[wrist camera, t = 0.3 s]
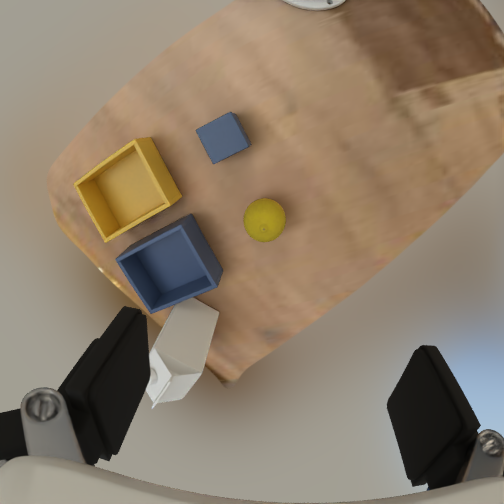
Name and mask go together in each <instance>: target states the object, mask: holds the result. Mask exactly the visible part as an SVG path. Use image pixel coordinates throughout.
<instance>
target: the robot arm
mask: <svg viewBox="0 0 504 504" xmlns="http://www.w3.org/2000/svg"><path fill="white" fill-rule="evenodd" d="M283 1H284V2H286V3H288V4H290V5H292V6H295V7H298V8H301V9H306V10H317V11H318V10H327V9H331V8H334V7H337V6H339V5H341V4H342V3H343V2H345V1H346V0H283ZM328 3H330V5H329V4H328ZM148 349H149V348H148V334H147V319H146V315H143V314H142V312H141V310H140V309H136V308H131V307H126V306H124V307H123V308H122V309H121V311H120V312H119V313H118V314H117V316H116V317H115V318H114V320H113V321H112V322H111V324H110V325H109V326H108V328H107V329H106V331H105V332H104V333H103V335H102V336H101V337H100V338H97V339H95V340H94V341H93V342H92V343H91V344H90V346H89V347H88V348H87V350H86V351H85V352H84V354H83V355H82V356H81V358H80V359H79V361H78V362H77V363H76V365H75V366H74V367H73V369H72V370H71V372H70V373H69V374H68V376H67V377H66V379H65V380H64V382H63V383H62V384H61V386H60V387H59V389H58V390H57V391H56V390H54V389H51V388H37V389H34V390H32V391H30V392H29V393H27V394H26V395H25V396H24V398H23V400H22V402H21V408H20V409H16V410H11V411H7V412H2V413H0V504H504V438H503V437H502V436H501V435H500V434H499V433H498V432H496V431H494V430H491V429H486V430H483V431H481V432H480V433H479V434H478V432H477V429H479V427H480V426H481V425H480V423H479V421H478V419H477V417H476V415H475V413H474V411H473V410H472V408H471V406H470V404H469V402H468V400H467V398H466V397H465V395H464V393H463V391H462V389H461V388H460V386H459V384H458V382H457V380H456V379H455V377H454V375H453V373H452V372H451V370H450V368H449V367H448V365H447V363H446V362H445V360H444V358H443V357H442V355H441V353H440V352H439V350H438V348H437V347H436V346H427V345H422V346H420V347H419V348H418V349H416V350H415V351H414V353H413V355H412V357H411V359H410V361H409V363H408V365H407V367H406V369H405V371H404V372H403V374H402V376H401V378H400V380H399V382H398V383H397V385H396V387H395V389H394V391H393V392H392V394H391V396H390V397H389V399H388V402H387V409H388V413H389V416H390V419H391V422H392V426H393V429H394V432H395V436H396V439H397V442H398V446H399V449H400V453H401V456H402V460H403V464H404V467H405V471H406V475H407V478H408V479H409V480H411V483H412V486H413V487H414V486H419V485H424V484H426V483H427V484H428V488H427V491H424V492H419V493H413V494H408V495H403V496H396V497H390V498H382V499H373V500H364V501H353V502H337V503H277V502H262V501H250V500H240V499H232V498H224V497H217V496H210V495H204V494H199V493H194V492H189V491H183V490H179V489H174V488H170V487H166V486H161V485H157V484H153V483H149V482H145V481H141V480H138V479H134V478H131V477H127V476H124V475H121V474H118V473H114V472H111V471H107V470H104V469H101V468H97V467H95V465H94V464H96V463H97V462H98V459H99V458H101V459H104V460H107V461H110V459H111V456H112V454H113V455H116V454H118V452H119V450H120V447H121V445H122V443H123V440H124V438H125V435H126V433H127V431H128V428H129V426H130V424H131V422H132V419H133V417H134V415H135V412H136V410H137V408H138V406H139V403H140V401H141V399H142V397H143V394H144V392H145V390H146V388H147V385H148V383H149V381H150V375H151V371H150V360H149V350H148Z"/></svg>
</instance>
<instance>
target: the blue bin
mask: <svg viewBox="0 0 504 504" xmlns="http://www.w3.org/2000/svg"><path fill="white" fill-rule="evenodd" d="M115 260H116V261H117V262H118V265H119V266H120V268H121V269H122V271H123V273H124V274H125V276H126V277H127V279H128V280H129V282H130V284H131V285H132V287H133V288H134V290H135V291H136V293H137V294H138V296H139V297H140V299H141V300H142V302H143V303H144V305H145V306H146V308H147V309H148V311H149V312H150V313H151V314H152V313H155V312H157V311H160V310H162V309H165V308H167V307H170V306H172V305H175V304H177V303H180V302H182V301H185V300H187V299H190V298H192V297H195V296H197V295H199V294H202V293H204V292H207V291H209V290H212V289H214V288H217V287H218V284H219V281H220V278H221V275H222V272H223V269H222V267H221V265H220V264H219V262H218V260H217V258H216V257H215V255H214V253H213V251H212V249H211V248H210V246H209V244H208V242H207V241H206V239H205V237H204V235H203V233H202V232H201V230H200V228H199V226H198V224H197V223H196V221H195V219H194V217H193V215H192V214H189V215H187V216H185V217H183V218H181V219H179V220H177V221H175V222H173V223H171V224H169V225H168V226H166V227H164V228H162V229H160V230H158V231H156V232H154V233H153V234H151V235H149V236H147V237H145V238H143V239H141V240H140V241H138V242H136V243H134V244H132V245H130V246H129V247H128V248H127V249H126V250H125V251H124V252H123V253H121V254H120V255H119V256H118V257H117V258H116V259H115Z"/></svg>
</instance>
